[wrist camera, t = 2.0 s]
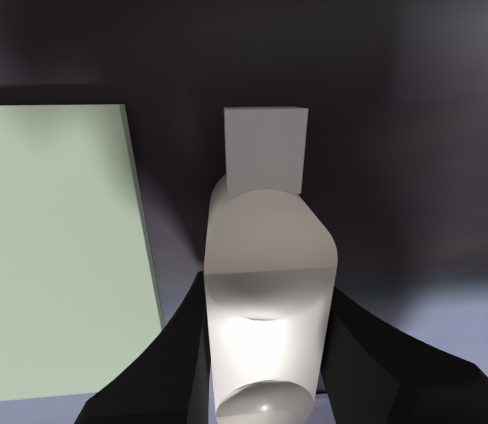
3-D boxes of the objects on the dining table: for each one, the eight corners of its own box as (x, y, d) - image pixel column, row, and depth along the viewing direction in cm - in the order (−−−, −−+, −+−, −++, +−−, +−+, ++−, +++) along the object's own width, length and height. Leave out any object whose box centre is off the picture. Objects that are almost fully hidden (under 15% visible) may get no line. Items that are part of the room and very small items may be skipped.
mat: (173, 375, 16) (171, 385, 16) (6, 390, 16) (-2, 401, 15) (124, 104, 10) (119, 104, 9) (-165, 107, 9) (-189, 107, 9)
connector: (283, 338, 16) (308, 434, 11) (218, 343, 16) (218, 444, 11) (301, 105, 11) (363, 110, 6) (203, 106, 10) (189, 113, 6)
